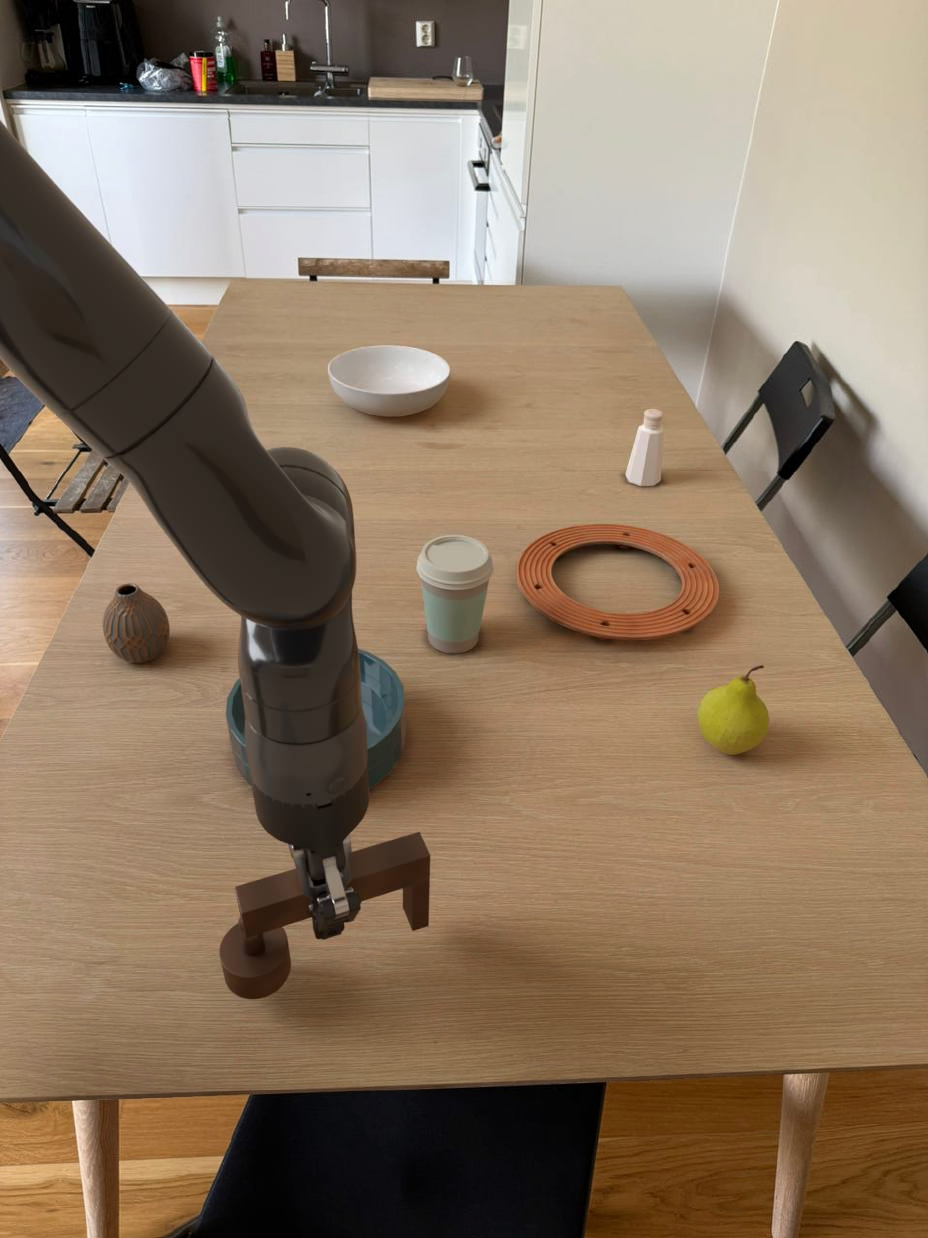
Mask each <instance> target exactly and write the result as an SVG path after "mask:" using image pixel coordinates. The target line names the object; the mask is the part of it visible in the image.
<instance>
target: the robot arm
mask: <svg viewBox="0 0 928 1238" xmlns="http://www.w3.org/2000/svg"><path fill="white" fill-rule="evenodd" d="M0 361H1V362H2V363H3V364H4V365H5V366H6V367H7V368H8V370H9V371H10V372H11V373H12V374H13V375H14V376H15V377H16V378H17V380H19V382H20V383H22V384H23V385H24V387H25V388H27V390H28V391H29V392H30V393H31V394H32V395H34V396H35V398H36V399H38V401H40V403H42V404H43V405H44V406H45V407H46V409H48V410H49V411H50V412H51V413H52V414H53V415H55V416H56V417H57V418H58V419H59V420H60V421H61V422H62V423H63V424H64V425H65V426H66V427H68V428H69V429H70V430H71V431H72V432H73V433H74V434H75V435H76V436H77V437H78V438H80V439H81V440H82V441H83V442H84V444H86V445H87V446H88V447H90V449H91V450H92V451H94V452H95V453H96V454H97V455H98V456H99V457H101V458H102V459H103V460H104V461H105V462H106V463H107V465H109V466H110V467H112V468H113V469H114V470H115V471H116V472H118V473H119V474H120V475H122V477H123V478H125V480H127V482H129V483H130V485H131V486H132V487H133V488H134V490H135V491H136V492H137V494H138V495H139V497H140V499H141V500H142V502H143V503H144V505H145V506H146V508H147V510H148V511H149V512H150V514H151V515H152V517H153V519H154V520H155V521H156V523H157V524H158V526H159V527H160V528H161V530H163V532H164V533H165V535H166V536H167V538H168V539H169V540H170V542H171V543H172V545H174V547H175V548H176V549H177V551H178V553H180V555H181V556H182V557H183V558H184V560H185V562H187V564H188V566H190V568H191V570H193V572H194V573H195V574H196V576H197V577H198V579H200V580H201V582H202V583H203V584H204V585H205V586H206V588H207V589H208V590H209V591H210V592H211V593H212V594H213V595H214V596H215V597H216V598H217V599H219V601H221V603H223V604H225V606H226V607H228V608H229V610H230V609H231V610H232V611H233V612H235V613H236V614H238V615H239V616H240V630H239V638H238V639H239V641H238V650H237V652H238V653H237V654H238V655H237V657H238V660H237V661H238V662H237V664H238V665H237V667H238V677H239V678H240V683H241V690H242V696H243V703H244V710H245V745H246V751H247V757H248V764H249V770H250V777H251V784H252V785H251V788H252V789H251V790H252V795H253V802H254V808H255V814H256V817H257V820H258V821H259V824H260V826H261V827H262V828H263V830H264V831H265V832H266V833H267V834H268V835H270V836H271V837H272V838H274V839H276V840H277V841H279V842H282V843H284V844H287V846H288V850H289V853H290V856H291V857H290V858H291V859H292V860H293V863H294V866H295V869H296V868H297V870H298V877H299V883H300V886H301V889H302V892H303V894H304V896H306V897H309V903H310V904H309V905H308V906H309V910H310V912H311V913H312V917H311V920H312V921H311V922H312V930H313V934H314V936H315V939H316V940H322V941H324V940H328V939H331V938H334V937H337V936H339V935H342V934H343V933H342V932H344V931H345V923H347V924H348V923H351V922H353V921H354V920H355V919H356V917H357V916H358V914H359V913H360V911H361V908H362V905H361V904H362V902H361V898H360V896H358V894H357V892H356V891H354V890H353V888H352V887H350V888H347V889H345V887H346V885H348V884H349V883H350V881H351V873H350V864H349V854H350V853H351V852H353V851H352V841H351V835H350V834H352V832H353V831H354V830H355V829H356V828H357V827H358V826H359V825H360V823H361V822H362V821H363V819H364V817H365V816H366V813H367V811H368V809H369V804H370V789H369V774H368V750H367V728H366V720H365V715H364V711H363V707H362V700H361V699H362V698H361V674H360V659H359V652H358V649H359V645H358V641H357V635H356V629H355V623H354V615H353V589H354V586H355V583H356V577H357V567H358V566H357V565H358V564H357V563H358V561H357V546H356V535H355V521H354V508H353V507H354V506H353V501H352V498H351V495H350V491H349V489H348V487H347V485H346V483H345V481H344V479H343V478H342V477H341V475H340V474H339V473H338V471H337V470H336V469H335V468H334V467H333V466H332V465H331V464H330V463H329V462H328V461H326V460H325V459H323V458H322V457H320V456H319V455H317V454H316V453H313V452H312V451H309V450H306V449H305V448H304V449H303V448H299V447H293V446H279V447H278V446H277V447H271V448H268V449H266V447H265V446H264V445H263V443H262V442H261V441H260V439H259V438H258V437H257V434H256V433H255V430H254V428H253V425H252V423H251V420H250V417H249V413H248V412H249V411H248V409H247V404H246V401H245V398H244V395H243V393H242V392H241V390H240V388H239V386H238V385H237V383H236V382H235V381H234V379H233V378H232V376H230V373H228V372H227V370H226V368H224V367H223V365H222V364H221V363H220V362H219V361H218V360H217V359H216V358H215V356H214V355H212V354H211V352H210V351H209V349H208V348H207V347H206V346H205V345H204V344H203V343H202V342H201V340H199V339H198V337H197V336H196V335H195V333H193V332H192V331H191V330H190V328H189V327H188V326H186V324H185V323H184V322H183V321H182V320H181V319H180V318H179V316H178V315H177V314H176V313H175V312H174V311H173V309H171V308H170V306H169V305H168V304H167V303H166V302H165V301H164V300H163V299H162V297H160V296H159V294H158V293H157V292H156V291H155V290H154V289H153V288H152V287H151V286H150V284H148V282H147V281H146V280H145V279H144V278H143V277H142V276H141V275H140V274H139V273H138V272H137V270H136V269H134V267H133V266H132V265H131V264H130V263H129V262H128V261H127V259H125V257H123V256H122V255H121V253H120V252H119V251H118V250H117V249H116V247H114V245H112V244H111V243H110V241H109V240H108V239H107V238H106V237H105V236H104V235H103V234H102V233H101V231H99V229H98V228H97V227H96V226H95V225H94V224H93V223H92V222H91V221H90V220H89V219H88V218H87V217H86V215H85V214H84V213H83V212H82V211H81V210H80V209H79V208H78V207H77V206H76V205H75V203H74V202H73V201H72V200H71V199H70V198H69V196H67V194H66V193H65V192H64V191H63V190H62V189H61V187H59V186H58V184H57V183H56V182H55V181H54V180H53V179H52V178H51V177H50V175H49V174H48V173H47V172H46V171H45V170H44V169H43V168H42V167H41V165H40V164H39V163H38V162H37V161H36V160H35V159H34V157H32V155H31V154H30V152H28V151H27V149H25V147H24V146H23V145H22V143H20V141H19V140H18V139H17V138H16V137H15V135H14V134H13V133H12V132H11V131H10V130H9V128H8V127H7V126H6V124H4V122H3V121H2V120H1V119H0ZM308 873H309V874H308ZM325 891H327V893H325V894H321V895H319V894H320V893H321V892H325Z"/></svg>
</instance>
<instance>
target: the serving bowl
mask: <svg viewBox="0 0 928 1238" xmlns="http://www.w3.org/2000/svg"><path fill="white" fill-rule="evenodd" d="M451 370H452V369H451V365H450V364H449V363H448V362H447V361H446V360H445V359H444V358H443V357H441V356H440V355H438V354H436V353H434V352H432V351H428V350H425V349H421V348H418V347H412V346H406V345H396V344H381V345H379V344H377V345H370V346H369V345H368V346H362V347H361V346H360V347H357V348H353V349H350V350H347V351H344V352H341V353H340V354H338V355H336V356H334V358H332V359H331V361H330V362H329V363H328V365H327V375H328V379H329V382H330V386H331V388H332V390H333V391H334V393H335V394H336V396H337V397H338V398H339V399H340V400H341V401H342V402H343V403H344V404H345V405H346V406H348V407H350V408H351V409H354V410H356V411H358V412H360V413H363V414H368V415H371V416H378V417H390V418H392V417H406V416H410V415H414V414H418V413H420V412H423V411H426V410H428V409H429V408H431V407H433V406H434V405H435V404H437V403H438V402H439V401H440V400H441V399H442V398H443V396H444V395H445V393H446V391H447V389H448V386H449V384H450V379H451V373H452V371H451Z"/></svg>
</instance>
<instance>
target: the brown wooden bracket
mask: <svg viewBox="0 0 928 1238" xmlns="http://www.w3.org/2000/svg"><path fill="white" fill-rule="evenodd" d="M349 864H350V873H351V881H350V883H349V884H348V885H346V887H345V889H347V888H350V887H352V888H353V890H354V891H356V892H357V894H358V896H360V898H361V903H362V902H364V901H367V900H372V899H373V898H377V897H380V896H383V895H386V894H391V893H393V892H397V891H399V890H402V909H403V912H404V914H405V917H406V919H407V921H408V924H409V927H410V929H411V931H412V932H415V931H418V930H420V929H424V928H426V927H429V925H430V924H429V923H430V889H431V888H430V886H431V853H430V851H429V849H428V847H427V845H426V842H425V840H424V838H423V837H422V834H421V832H420V831H416V832H414V833H410V834H407V835H404V836H400V837H397V838H394V839H390V840H386V841H383V842H380V843H377V844H373V845H370V846H366V847H363V848H360V849H357V850H354V851H351V853H350V854H349ZM308 874H309V873H308ZM234 889H235V891H234V892H235V896H236V901H237V906H238V907H237V908H238V911H239V915H240V917H239V918H238V922H237V923H236V924H235V925H233V926H232V927H231V928H229V930H228V931H227V932H226V933H225V934H224V936H223V938H222V940H221V942H220V945H219V950H218V951H219V952H218V953H219V959H220V966H221V969H222V973H223V979H224V982H225V984H226V986H227V988H228V989H229V991H230V992H231V993H233V994H234V995H235V996H237V997H239V998H242V999H245V1000H260V999H264V998H267V997H269V996H271V995H273V994H275V993H276V992H278V991H279V990H280V989H281V988H282V987H283V986H284V984H285V983H286V982H287V980H288V979H289V977H290V973H291V970H292V969H291V968H292V959H291V952H290V945H289V937H288V935H287V932H286V930H285V929H284V927H286V926H289V925H292V924H295V923H298V922H302V921H305V920H309V919H312V913H311V912H310V910H309V906H308V905H309V904H310V903H309V897H306V896H304V894H303V892H302V889H301V886H300V883H299V877H298V870H297V868H296V867H295V868H293V869H289V870H287V871H282V872H279V873H276V874H273V875H269V876H265V877H263V878H259V879H256V880H252V881H249V882H246V883H241V884H239V885H235V887H234ZM325 893H327V891H325V892H321V893H320V894H319V895H321V894H325Z"/></svg>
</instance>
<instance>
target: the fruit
mask: <svg viewBox="0 0 928 1238" xmlns="http://www.w3.org/2000/svg"><path fill="white" fill-rule="evenodd" d="M764 668H765V667H764V665H758V666H754V667H751V669H750V670H749V671H748V672H747V674H746V675H739V676H736V677H735V678H733V679H732V680H731V681H729V682H728V683H727V684H724V685H720V686H718V687H715V688H713V689H711V690H710V691H708V692H707V693H706V694H705V695H704V696H703V698H702V700H701V703H700V705H699V707H698V709H697V710H698V711H697V724H698V728H699V731H700V733H701V735H702V737H703V739H705V741H706V742H707V743H708V744H710V746H711V747H712V748H713V749H715V750H717V751H719V752H720V753H723V754H725V755H730V756H731V755H738V754H742V753H745V752H747V751H750V750H752V749H754V748H756V747H757V746H758V745H759V744H761V742H762V741H763V740H764V738H765V737H766V736H767V734H768V731H769V726H770V715H769V710H768V707H767V706H766V704H765V702H764V701H763V700H762V698H761V697H760V696H759V695H757V687H756V683H755V682H754V680H753V679H752V678H750V677H749V676H750V675H751V673H752V672H754V671H758V670H760V669H764Z"/></svg>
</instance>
